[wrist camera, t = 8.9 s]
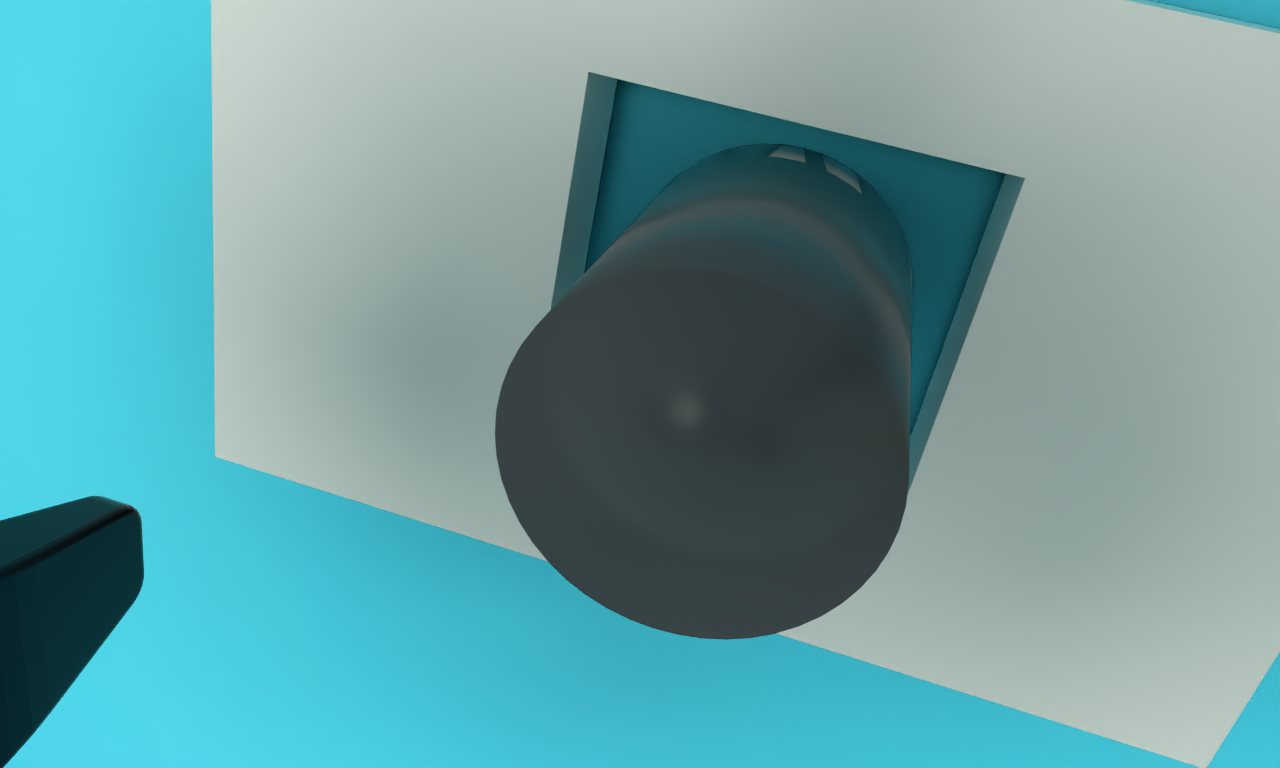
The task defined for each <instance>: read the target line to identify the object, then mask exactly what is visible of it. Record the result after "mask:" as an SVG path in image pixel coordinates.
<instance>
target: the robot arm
mask: <svg viewBox="0 0 1280 768" xmlns="http://www.w3.org/2000/svg"><path fill="white" fill-rule="evenodd" d="M143 579H144V563H143V542H142V522H141V517H140V515H139V513H138V511H137V510H136V509H135V508H133V507H132V506H130V505H127V504H124V503H121V502H118V501H115V500H112V499H109V498H105V497H101V496H90V497H86V498H82V499H78V500H75V501H71V502H67V503H64V504H60V505H56V506H53V507H49V508H45V509H42V510H38V511H34V512H30V513H27V514H23V515H19V516H16V517H12V518H8V519H5V520H1V521H0V768H3V767H4V766H5V765H6V764H7V763H8V762H9V761H10V760H11V758H12V757H13V756H14V755H15V754H16V753H17V752H18V751H19V749H20V748H21V747H22V746H23V745H24V744H25V743H26V742H27V740H28V739H29V738H30V737H31V736H32V735H33V734H34V732H35V731H36V730H37V729H38V727H39V726H40V725H41V724H42V722H43V721H44V720H45V719H46V718H47V716H48V715H49V714H50V713H51V711H52V710H53V709H54V707H55V706H56V705H57V703H58V702H59V701H60V699H61V698H62V697H63V695H64V694H65V693H66V692H67V690H68V689H69V688H70V686H71V685H72V684H73V682H74V681H75V680H76V678H77V677H78V676H79V674H80V673H81V672H82V670H83V669H84V668H85V666H86V665H87V664H88V662H89V661H90V660H91V658H92V657H93V656H94V655H95V653H96V652H97V651H98V649H99V648H100V647H101V645H102V644H103V643H104V641H105V640H106V639H107V637H108V636H109V635H110V633H111V632H112V631H113V629H114V628H115V627H116V625H117V624H118V623H119V622H120V620H121V619H122V618H123V616H124V615H125V614H126V612H127V611H128V610H129V608H130V607H131V606H132V604H133V603H134V601H135V600H136V598H137V596H138V594H139V592H140V590H141V587H142V584H143Z"/></svg>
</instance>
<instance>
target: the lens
mask: <svg viewBox="0 0 1280 768" xmlns="http://www.w3.org/2000/svg"><path fill="white" fill-rule="evenodd" d="M912 298H913V281H912V265H911V260H910V254H909V249H908V246H907V243H906V240H905V237H904V234H903V232H902V230H901V228H900V225H899V223H898V221H897V219H896V217H895V215H894V214H893V212H892V211H891V210H890V208H889V207H888V205H887V204H886V202H885V201H884V199H883V198H882V197H881V196H880V195H879V194H878V193H877V192H876V190H875V189H874V188H873V187H872V186H871V185H870V184H869V183H868V182H866V181H865V180H864V179H863V178H862V177H861V176H859V175H858V174H857V173H856V172H854V171H853V170H851V169H849V168H848V167H846V166H845V165H843V164H842V163H840V162H838V161H836V160H834V159H832V158H830V157H827V156H825V155H823V154H821V153H817V152H814V151H811V150H808V149H805V148H800V147H795V146H789V145H782V144H755V145H745V146H740V147H736V148H731V149H727V150H724V151H721V152H719V153H716V154H713V155H711V156H708V157H706V158H704V159H702V160H701V161H699V162H697V163H695V164H693V165H691V166H690V167H689V168H687V169H686V170H685V171H683V172H682V173H680V174H679V175H678V176H677V177H675V178H674V179H673V180H672V181H671V182H670V183H669V184H668V185H667V186H666V187H665V188H664V189H663V190H662V191H661V192H660V193H659V194H658V195H657V197H656V198H655V199H654V200H653V201H652V202H651V203H650V204H649V205H648V206H647V207H646V208H645V209H644V210H643V212H642V213H641V214H640V215H639V216H638V217H637V218H636V219H635V220H634V221H633V222H632V223H631V224H630V226H629V227H628V228H627V229H626V230H625V231H624V232H623V233H622V234H621V235H620V236H619V237H618V238H617V239H616V241H615V242H614V243H613V244H612V245H611V246H610V247H609V248H608V249H607V250H606V251H605V252H604V253H603V254H602V256H601V257H600V258H599V259H598V260H597V261H596V262H595V263H594V264H593V265H592V266H591V267H590V268H589V269H588V271H587V272H586V273H585V274H584V275H583V276H582V277H581V278H580V279H579V280H578V281H577V282H576V283H575V284H574V286H573V287H572V288H571V289H570V290H569V291H568V292H567V293H566V294H565V295H564V296H563V297H562V298H561V299H560V301H559V302H558V303H557V304H556V305H555V306H554V307H553V308H552V309H551V310H550V311H549V312H548V313H547V314H546V316H545V317H544V318H543V319H542V320H541V321H540V322H539V323H538V324H537V325H536V326H535V328H534V329H533V330H532V331H531V333H530V334H529V335H528V337H527V338H526V339H525V340H524V342H523V343H522V344H521V346H520V348H519V349H518V351H517V353H516V355H515V356H514V358H513V360H512V362H511V364H510V365H509V368H508V371H507V373H506V376H505V378H504V381H503V384H502V386H501V390H500V395H499V400H498V404H497V409H496V422H495V444H496V457H497V461H498V466H499V471H500V476H501V480H502V483H503V486H504V488H505V491H506V494H507V497H508V500H509V502H510V504H511V506H512V508H513V510H514V512H515V514H516V517H517V519H518V521H519V523H520V524H521V526H522V527H523V529H524V530H525V532H526V533H527V535H528V536H529V538H530V540H531V541H532V543H533V544H534V545H535V546H536V548H537V549H538V550H539V551H540V552H541V554H542V555H543V556H544V557H545V559H546V560H547V561H548V562H549V563H550V564H551V565H552V566H553V567H554V568H555V569H556V570H557V571H558V572H559V573H560V574H561V575H562V576H563V577H564V578H565V579H566V580H568V581H569V582H570V583H571V584H573V585H574V586H575V587H577V588H578V589H579V590H580V591H582V592H583V593H584V594H585V595H587V596H589V597H590V598H592V599H593V600H595V601H596V602H598V603H600V604H601V605H603V606H604V607H606V608H608V609H610V610H612V611H614V612H616V613H618V614H620V615H622V616H624V617H626V618H628V619H630V620H633V621H636V622H638V623H641V624H644V625H646V626H649V627H651V628H655V629H659V630H662V631H666V632H670V633H674V634H678V635H685V636H691V637H697V638H709V639H740V638H753V637H759V636H764V635H770V634H776V633H779V632H782V631H785V630H789V629H792V628H795V627H799V626H801V625H803V624H805V623H808V622H810V621H812V620H814V619H817V618H819V617H821V616H823V615H824V614H826V613H828V612H829V611H831V610H832V609H834V608H836V607H837V606H839V605H841V604H842V603H843V602H844V601H846V600H847V599H848V598H849V597H851V596H852V595H853V594H854V593H855V592H857V591H858V590H859V589H860V588H861V587H862V586H863V585H864V584H865V583H866V582H867V580H868V579H869V578H870V577H871V576H872V575H873V574H874V573H875V572H876V570H877V569H878V567H879V566H880V564H881V563H882V561H883V560H884V558H885V557H886V555H887V554H888V552H889V551H890V548H891V546H892V544H893V542H894V540H895V538H896V536H897V533H898V531H899V529H900V525H901V522H902V518H903V515H904V511H905V508H906V502H907V494H908V486H909V458H910V405H911V351H912Z"/></svg>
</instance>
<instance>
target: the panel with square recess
mask: <svg viewBox="0 0 1280 768" xmlns="http://www.w3.org/2000/svg"><path fill="white" fill-rule="evenodd" d="M211 53H212V165H213V278H214V391H215V457H218V458H221V459H224V460H227V461H231V462H234V463H237V464H240V465H243V466H246V467H250V468H253V469H256V470H259V471H262V472H265V473H269V474H272V475H275V476H278V477H281V478H284V479H288V480H291V481H294V482H297V483H300V484H304V485H307V486H310V487H313V488H316V489H319V490H323V491H326V492H329V493H332V494H335V495H338V496H342V497H345V498H348V499H351V500H354V501H357V502H361V503H364V504H367V505H370V506H373V507H376V508H380V509H383V510H386V511H389V512H392V513H395V514H399V515H402V516H405V517H408V518H411V519H415V520H418V521H421V522H424V523H427V524H430V525H434V526H437V527H440V528H443V529H446V530H449V531H453V532H456V533H459V534H462V535H465V536H468V537H472V538H475V539H478V540H481V541H484V542H487V543H491V544H494V545H497V546H500V547H503V548H506V549H510V550H513V551H516V552H519V553H522V554H525V555H529V556H532V557H535V558H538V559H541V560H545V561H547V560H546V559H545V557H544V556H543V555H542V554H541V552H540V551H539V550H538V549H537V548H536V546H535V545H534V544H533V543H532V541H531V540H530V538H529V536H528V535H527V533H526V532H525V530H524V529H523V527H522V526H521V524H520V523H519V521H518V519H517V517H516V514H515V512H514V510H513V508H512V506H511V504H510V502H509V500H508V497H507V494H506V491H505V488H504V486H503V483H502V480H501V476H500V471H499V466H498V461H497V457H496V444H495V422H496V409H497V404H498V400H499V395H500V390H501V386H502V384H503V381H504V378H505V376H506V373H507V371H508V368H509V365H510V364H511V362H512V360H513V358H514V356H515V355H516V353H517V351H518V349H519V348H520V346H521V344H522V343H523V342H524V340H525V339H526V338H527V337H528V335H529V334H530V333H531V331H532V330H533V329H534V328H535V326H536V325H537V324H538V323H539V322H540V321H541V320H542V319H543V318H544V317H545V316H546V314H547V313H548V312H549V311H550V310H551V309H552V308H553V307H554V306H555V305H556V304H557V303H558V302H559V301H560V299H561V298H562V297H563V296H564V295H565V294H566V293H567V292H568V291H569V290H570V289H571V288H572V287H573V286H574V284H575V283H576V282H577V281H578V280H579V279H580V278H581V277H582V276H583V275H584V271H585V265H586V259H587V253H588V247H589V242H590V236H591V230H592V224H593V219H594V213H595V207H596V201H597V195H598V190H599V184H600V178H601V172H602V166H603V161H604V155H605V149H606V143H607V137H608V132H609V126H610V120H611V114H612V108H613V103H614V97H615V91H616V85H617V79H620V80H624V81H628V82H632V83H636V84H640V85H644V86H649V87H653V88H657V89H661V90H665V91H669V92H673V93H677V94H681V95H686V96H690V97H694V98H698V99H702V100H706V101H710V102H714V103H718V104H722V105H727V106H731V107H735V108H739V109H743V110H747V111H751V112H755V113H759V114H763V115H768V116H772V117H776V118H780V119H784V120H788V121H792V122H796V123H800V124H804V125H809V126H813V127H817V128H821V129H825V130H829V131H833V132H837V133H841V134H846V135H850V136H854V137H858V138H862V139H866V140H870V141H874V142H878V143H882V144H887V145H891V146H895V147H899V148H903V149H907V150H911V151H915V152H919V153H923V154H928V155H932V156H936V157H940V158H944V159H948V160H952V161H956V162H960V163H964V164H969V165H973V166H977V167H981V168H985V169H989V170H993V171H997V172H1001V173H1006V174H1005V176H1004V179H1003V182H1002V185H1001V187H1000V190H999V193H998V196H997V199H996V201H995V204H994V207H993V210H992V212H991V215H990V218H989V221H988V223H987V226H986V229H985V232H984V234H983V237H982V240H981V243H980V246H979V248H978V251H977V254H976V257H975V259H974V262H973V265H972V268H971V270H970V273H969V276H968V279H967V282H966V284H965V287H964V290H963V293H962V295H961V298H960V301H959V304H958V306H957V309H956V312H955V315H954V317H953V320H952V323H951V326H950V329H949V331H948V334H947V337H946V340H945V342H944V345H943V348H942V351H941V353H940V356H939V359H938V362H937V365H936V367H935V370H934V373H933V376H932V378H931V381H930V384H929V387H928V389H927V392H926V395H925V398H924V401H923V403H922V406H921V409H920V412H919V414H918V417H917V420H916V423H915V425H914V428H913V431H912V434H911V436H910V458H909V486H908V494H907V502H906V508H905V511H904V515H903V518H902V522H901V525H900V529H899V531H898V533H897V536H896V538H895V540H894V542H893V544H892V546H891V548H890V551H889V552H888V554H887V555H886V557H885V558H884V560H883V561H882V563H881V564H880V566H879V567H878V569H877V570H876V572H875V573H874V574H873V575H872V576H871V577H870V578H869V579H868V580H867V582H866V583H865V584H864V585H863V586H862V587H861V588H860V589H859V590H858V591H857V592H855V593H854V594H853V595H852V596H851V597H849V598H848V599H847V600H846V601H844V602H843V603H842V604H841V605H839V606H837V607H836V608H834V609H832V610H831V611H829V612H828V613H826V614H824V615H823V616H821V617H819V618H817V619H814V620H812V621H810V622H808V623H805V624H803V625H801V626H799V627H795V628H792V629H789V630H785V631H782V632H779V633H776V634H779V635H782V636H786V637H789V638H792V639H795V640H798V641H801V642H805V643H808V644H811V645H814V646H817V647H820V648H824V649H827V650H830V651H833V652H836V653H839V654H843V655H846V656H849V657H852V658H855V659H858V660H862V661H865V662H868V663H871V664H874V665H877V666H881V667H884V668H887V669H890V670H893V671H897V672H900V673H903V674H906V675H909V676H912V677H916V678H919V679H922V680H925V681H928V682H931V683H935V684H938V685H941V686H944V687H947V688H950V689H954V690H957V691H960V692H963V693H966V694H969V695H973V696H976V697H979V698H982V699H985V700H988V701H992V702H995V703H998V704H1001V705H1004V706H1007V707H1011V708H1014V709H1017V710H1020V711H1023V712H1027V713H1030V714H1033V715H1036V716H1039V717H1042V718H1046V719H1049V720H1052V721H1055V722H1058V723H1061V724H1065V725H1068V726H1071V727H1074V728H1077V729H1080V730H1084V731H1087V732H1090V733H1093V734H1096V735H1099V736H1103V737H1106V738H1109V739H1112V740H1115V741H1118V742H1122V743H1125V744H1128V745H1131V746H1134V747H1138V748H1141V749H1144V750H1147V751H1150V752H1153V753H1157V754H1160V755H1163V756H1166V757H1169V758H1172V759H1176V760H1179V761H1182V762H1185V763H1188V764H1191V765H1195V766H1198V767H1201V768H1207V766H1208V765H1209V763H1210V762H1211V760H1212V758H1213V757H1214V755H1215V754H1216V752H1217V750H1218V749H1219V747H1220V746H1221V744H1222V743H1223V741H1224V739H1225V738H1226V736H1227V735H1228V733H1229V731H1230V730H1231V728H1232V727H1233V725H1234V723H1235V722H1236V720H1237V719H1238V717H1239V716H1240V714H1241V712H1242V711H1243V709H1244V708H1245V706H1246V704H1247V703H1248V701H1249V700H1250V698H1251V696H1252V695H1253V693H1254V692H1255V690H1256V689H1257V687H1258V685H1259V684H1260V682H1261V681H1262V679H1263V677H1264V676H1265V674H1266V673H1267V671H1268V670H1269V668H1270V666H1271V665H1272V663H1273V662H1274V660H1275V658H1276V657H1277V655H1278V654H1279V652H1280V29H1278V28H1273V27H1268V26H1264V25H1259V24H1254V23H1250V22H1245V21H1241V20H1236V19H1231V18H1227V17H1222V16H1217V15H1213V14H1208V13H1204V12H1199V11H1194V10H1190V9H1185V8H1180V7H1176V6H1171V5H1167V4H1162V3H1157V2H1153V1H1148V0H211Z"/></svg>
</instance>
